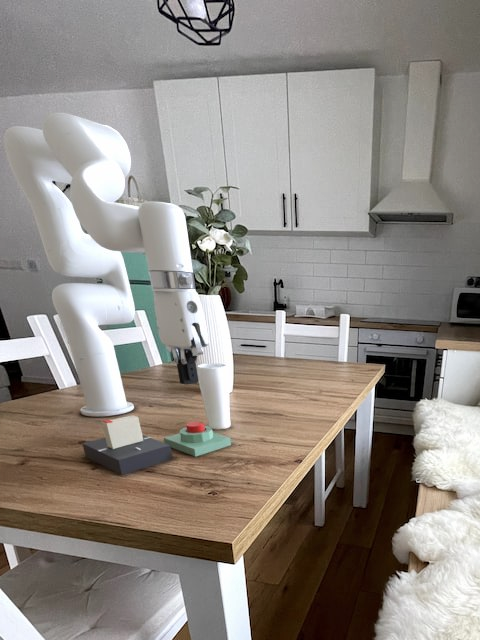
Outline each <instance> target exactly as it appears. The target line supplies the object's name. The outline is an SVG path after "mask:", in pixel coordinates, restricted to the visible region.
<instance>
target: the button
mask: <svg viewBox="0 0 480 640" xmlns="http://www.w3.org/2000/svg"><path fill="white" fill-rule="evenodd" d="M204 426H205V423H204V422H202V421H191V422H188V423H186V425H185V427H187V432H188V433H200V432H203V431H205V427H204Z"/></svg>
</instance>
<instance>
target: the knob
mask: <svg viewBox="0 0 480 640" xmlns="http://www.w3.org/2000/svg"><path fill="white" fill-rule="evenodd" d="M101 426H102V430H103V433H104V434H103V435H104V438H106V442H107V446H108V447H109V448H112V449H115V448H119V447H122V446H126V445H130V444H134V443H137V442H141V441H143V436H142V435H143V431H142V427H141V423H140V418H139V416H137V415H134V414H132V415H127V416H123V417H117V418H113V419H103V420H102V421H101Z"/></svg>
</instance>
